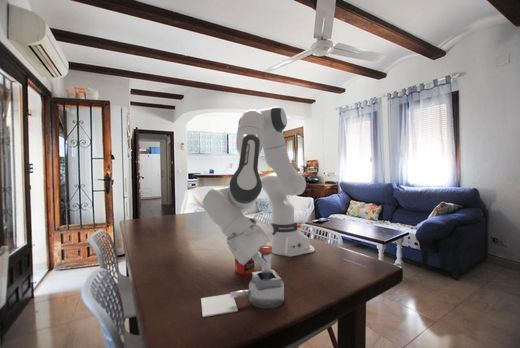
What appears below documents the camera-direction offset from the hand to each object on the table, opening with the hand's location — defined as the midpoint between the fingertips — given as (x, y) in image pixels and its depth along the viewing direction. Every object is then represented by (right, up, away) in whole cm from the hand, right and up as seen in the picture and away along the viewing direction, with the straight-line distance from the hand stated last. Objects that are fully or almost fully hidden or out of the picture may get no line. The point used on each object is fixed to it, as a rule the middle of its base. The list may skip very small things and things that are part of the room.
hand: (268, 263), depth 79 cm
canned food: (-9, -11, +22) cm, 26 cm away
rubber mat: (-15, -12, -3) cm, 19 cm away
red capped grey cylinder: (-1, -6, 0) cm, 6 cm away
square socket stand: (-3, -12, 0) cm, 12 cm away
